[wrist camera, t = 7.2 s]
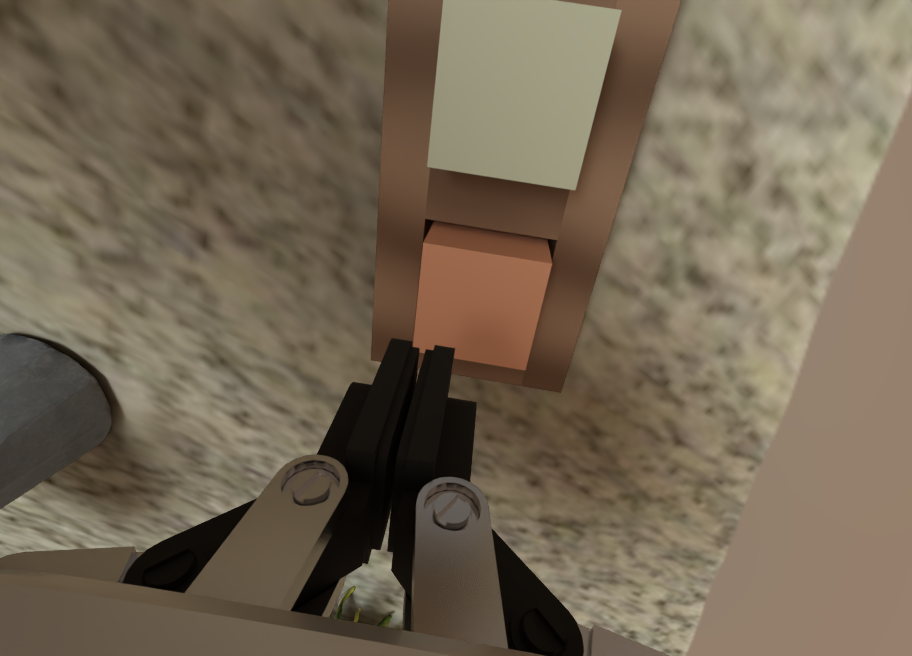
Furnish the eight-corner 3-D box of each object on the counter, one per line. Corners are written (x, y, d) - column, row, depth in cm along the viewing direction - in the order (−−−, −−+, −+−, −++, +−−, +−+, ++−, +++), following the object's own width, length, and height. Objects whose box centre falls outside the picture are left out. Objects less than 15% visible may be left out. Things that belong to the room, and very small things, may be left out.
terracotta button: (523, 326, 24) (525, 370, 20) (426, 310, 24) (412, 351, 20) (545, 231, 21) (552, 263, 18) (437, 214, 21) (423, 242, 18)
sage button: (564, 167, 19) (575, 190, 15) (442, 148, 19) (427, 166, 16) (598, 22, 16) (621, 10, 13) (458, 1, 17) (444, -17, 13)
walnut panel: (556, 364, 25) (560, 392, 23) (382, 335, 26) (370, 360, 23) (782, -413, 13) (838, -513, 10) (432, -456, 13) (415, -562, 11)
